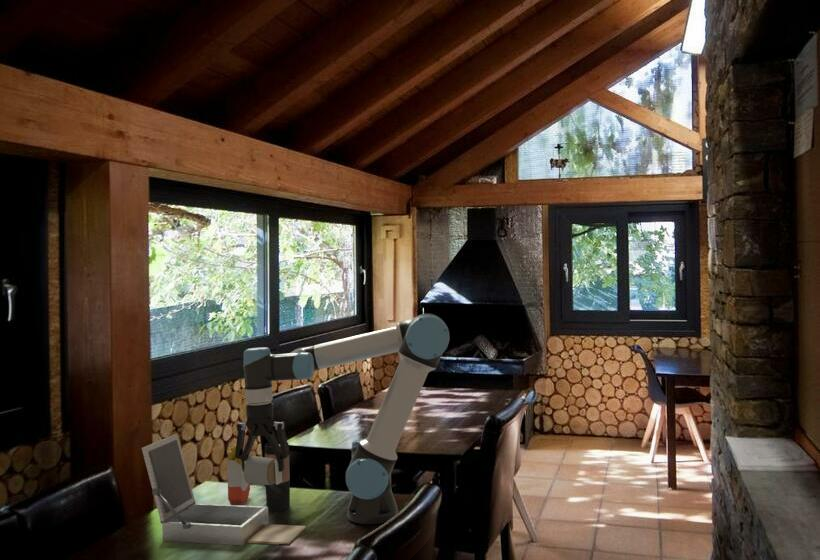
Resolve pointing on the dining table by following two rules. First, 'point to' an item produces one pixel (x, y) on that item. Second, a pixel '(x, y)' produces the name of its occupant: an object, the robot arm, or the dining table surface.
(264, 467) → the ceramic mug
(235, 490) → the french fries container
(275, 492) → the travel mug
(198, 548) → the dining table surface
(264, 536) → the cork pad
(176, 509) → the equipment case
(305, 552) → the dining table surface
